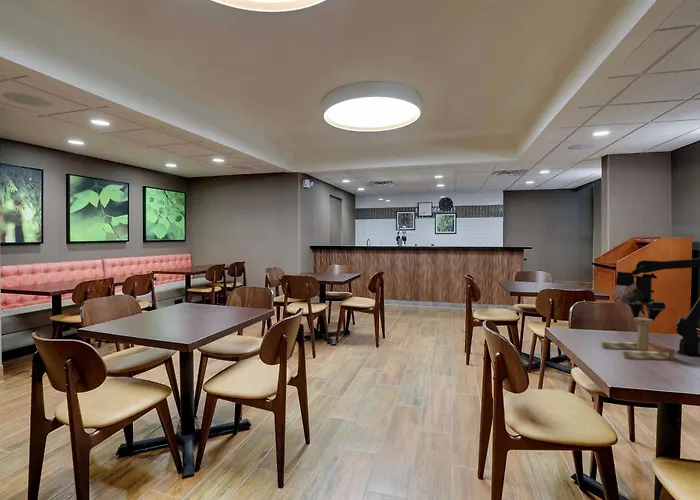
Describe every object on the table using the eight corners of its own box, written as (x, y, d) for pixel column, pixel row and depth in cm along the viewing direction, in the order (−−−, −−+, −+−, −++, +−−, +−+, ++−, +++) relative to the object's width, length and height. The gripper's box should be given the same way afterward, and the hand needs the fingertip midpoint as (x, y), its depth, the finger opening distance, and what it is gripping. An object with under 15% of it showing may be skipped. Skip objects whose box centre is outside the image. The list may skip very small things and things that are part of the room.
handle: (651, 355, 155) (652, 320, 155) (632, 352, 159) (633, 318, 159) (652, 353, 159) (653, 319, 158) (633, 350, 163) (634, 317, 162)
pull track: (645, 348, 166) (645, 339, 166) (674, 359, 150) (674, 349, 150) (600, 346, 168) (600, 338, 168) (624, 358, 152) (624, 348, 152)
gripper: (612, 284, 178) (611, 316, 178) (640, 289, 159) (639, 325, 159) (636, 285, 177) (635, 317, 177) (667, 290, 158) (666, 325, 159)
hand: (642, 321), depth 168 cm, fingers open, 9 cm apart
